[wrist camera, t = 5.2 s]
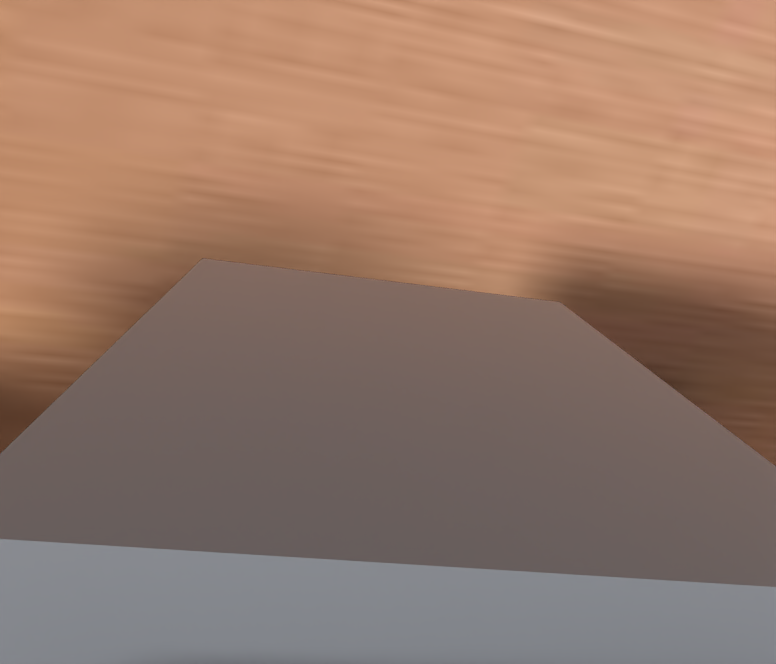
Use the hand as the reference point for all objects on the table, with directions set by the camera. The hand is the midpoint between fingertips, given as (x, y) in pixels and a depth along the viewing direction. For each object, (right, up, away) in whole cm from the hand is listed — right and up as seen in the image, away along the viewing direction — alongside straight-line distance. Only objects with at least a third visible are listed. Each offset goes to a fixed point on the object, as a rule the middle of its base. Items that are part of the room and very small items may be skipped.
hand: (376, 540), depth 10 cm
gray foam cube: (0, +1, +4) cm, 4 cm away
